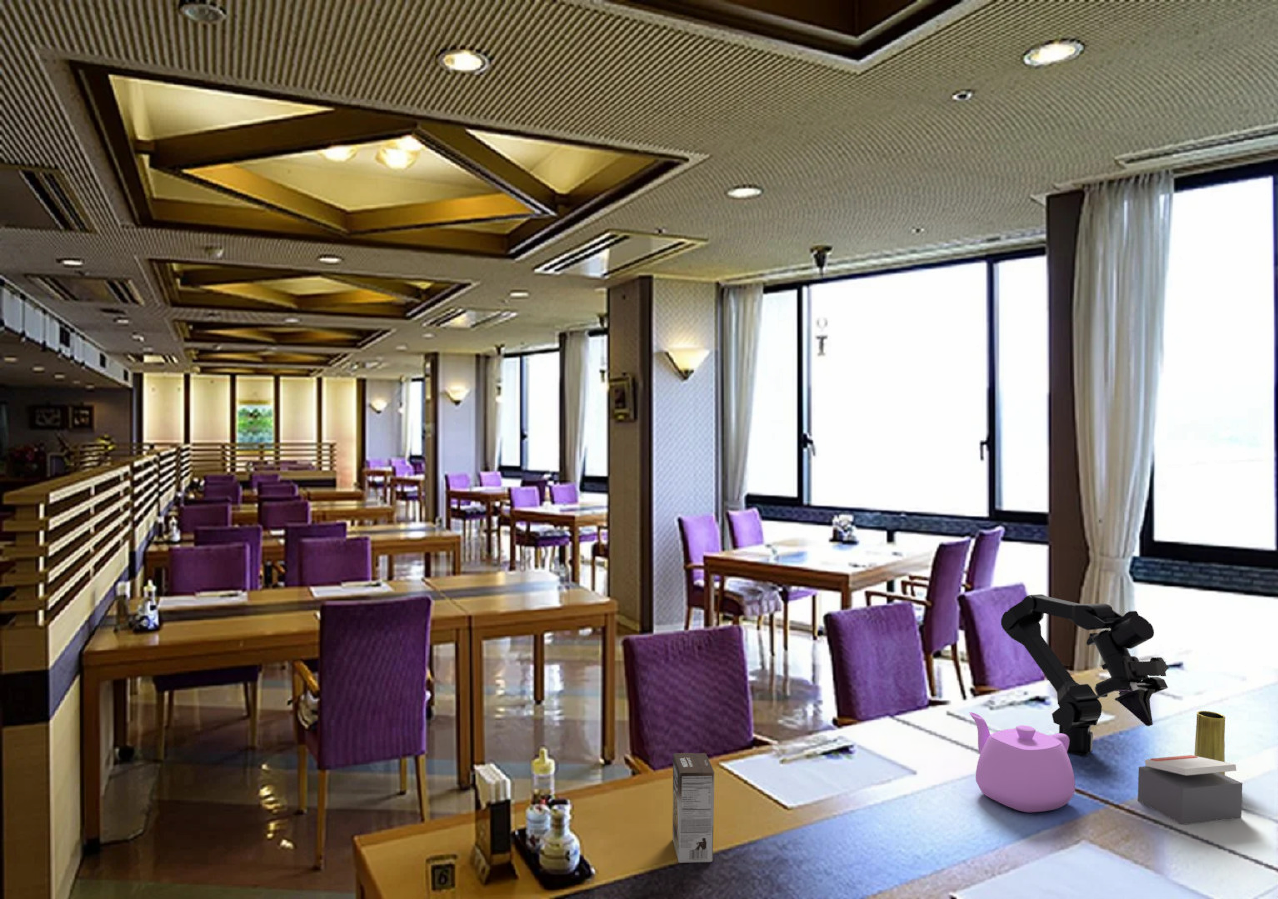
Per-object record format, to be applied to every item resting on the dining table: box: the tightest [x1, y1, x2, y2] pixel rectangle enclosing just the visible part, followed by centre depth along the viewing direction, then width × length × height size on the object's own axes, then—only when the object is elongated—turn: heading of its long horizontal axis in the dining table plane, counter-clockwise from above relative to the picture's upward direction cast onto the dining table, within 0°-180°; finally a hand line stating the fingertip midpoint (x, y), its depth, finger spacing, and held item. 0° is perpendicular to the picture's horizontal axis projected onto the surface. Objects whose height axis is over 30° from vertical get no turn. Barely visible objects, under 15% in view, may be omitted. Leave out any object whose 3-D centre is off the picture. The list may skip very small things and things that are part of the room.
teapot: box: [968, 712, 1076, 814], centre depth 182 cm, size 23×21×15 cm
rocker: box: [1144, 754, 1237, 775], centre depth 175 cm, size 10×12×1 cm
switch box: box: [1137, 765, 1243, 825], centre depth 175 cm, size 11×14×7 cm
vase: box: [1193, 710, 1226, 776], centre depth 191 cm, size 6×6×14 cm
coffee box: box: [672, 752, 715, 864], centre depth 156 cm, size 9×6×16 cm
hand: (1149, 725), depth 188 cm, fingers closed
